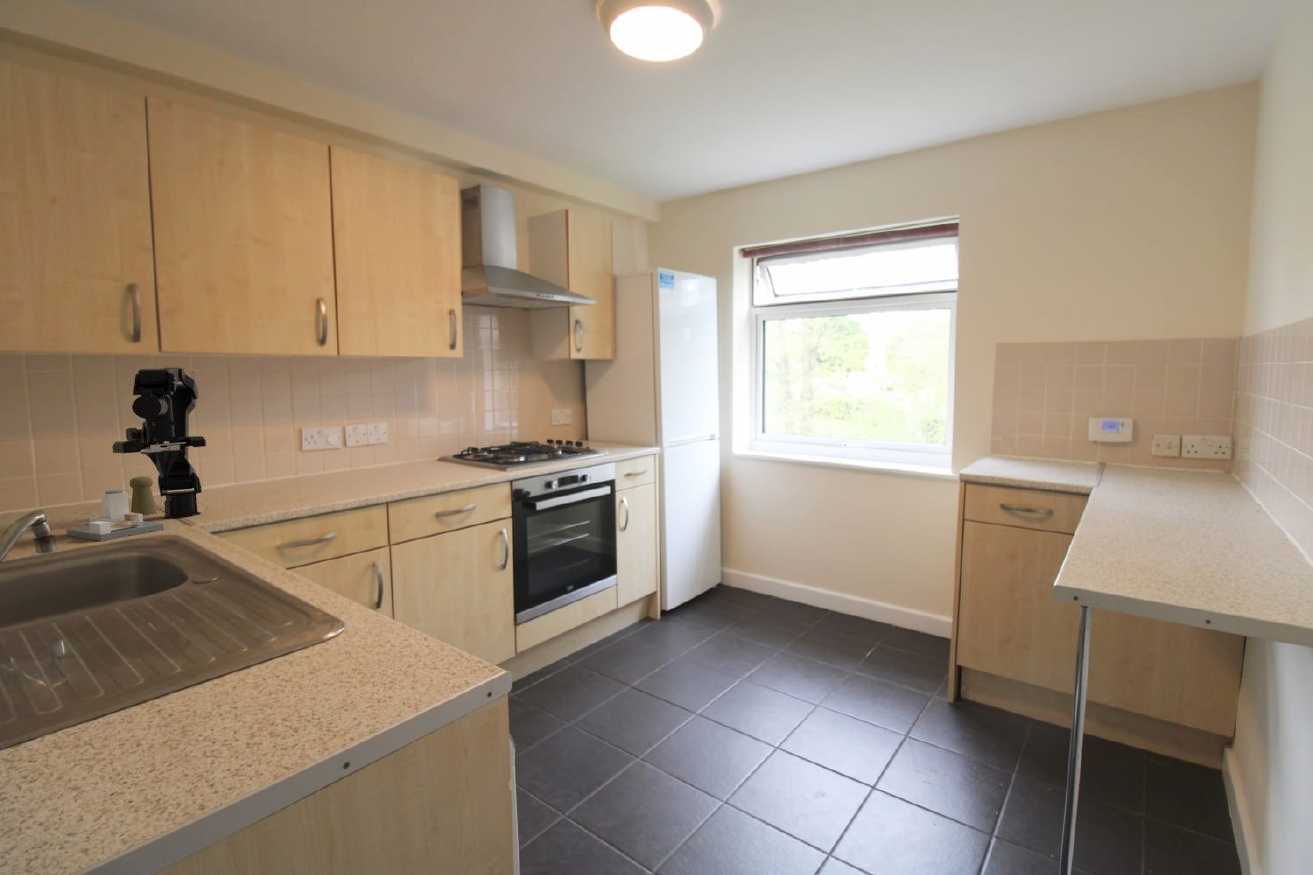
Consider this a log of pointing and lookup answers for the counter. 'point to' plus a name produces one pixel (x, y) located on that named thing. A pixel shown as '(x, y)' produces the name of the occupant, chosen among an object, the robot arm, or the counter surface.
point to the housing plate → (114, 532)
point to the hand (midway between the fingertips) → (164, 477)
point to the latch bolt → (126, 522)
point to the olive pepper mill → (142, 496)
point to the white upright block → (114, 504)
